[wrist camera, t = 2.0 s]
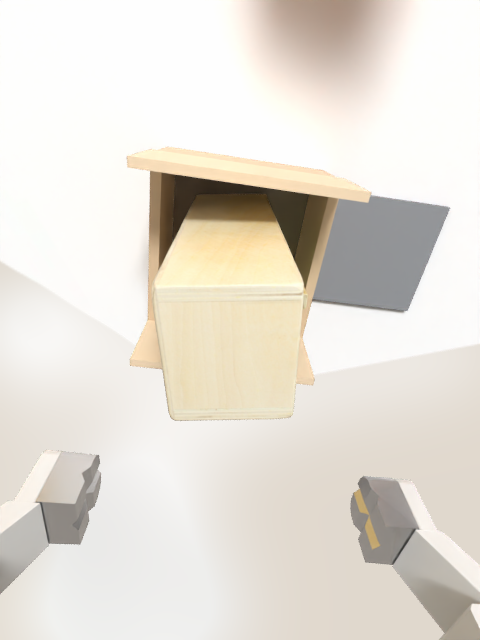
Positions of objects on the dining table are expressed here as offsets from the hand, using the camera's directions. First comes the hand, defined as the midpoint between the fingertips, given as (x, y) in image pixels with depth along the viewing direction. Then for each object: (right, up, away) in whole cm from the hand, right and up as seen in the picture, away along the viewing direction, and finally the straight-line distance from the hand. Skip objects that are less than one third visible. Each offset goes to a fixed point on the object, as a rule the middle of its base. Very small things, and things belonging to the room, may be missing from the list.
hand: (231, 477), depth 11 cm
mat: (+14, +12, +25) cm, 31 cm away
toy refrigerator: (0, +13, +24) cm, 28 cm away
